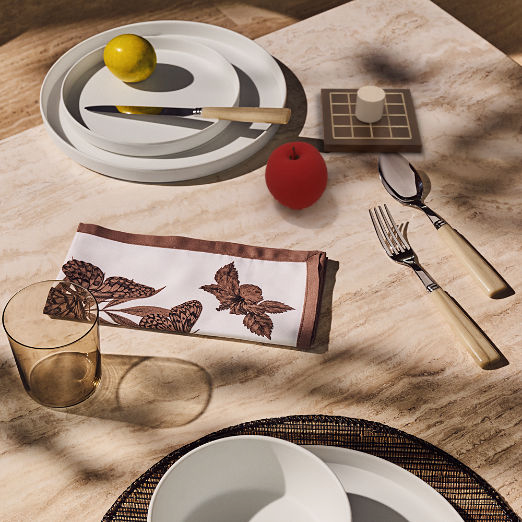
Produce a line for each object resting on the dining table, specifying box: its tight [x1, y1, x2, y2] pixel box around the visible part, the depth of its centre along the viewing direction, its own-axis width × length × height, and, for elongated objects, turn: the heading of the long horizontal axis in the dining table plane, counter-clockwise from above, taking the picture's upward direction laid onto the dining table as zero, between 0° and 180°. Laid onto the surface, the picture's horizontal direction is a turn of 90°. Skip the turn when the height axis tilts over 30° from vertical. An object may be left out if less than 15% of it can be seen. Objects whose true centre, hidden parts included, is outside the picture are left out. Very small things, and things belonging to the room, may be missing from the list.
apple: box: [264, 141, 329, 211], centre depth 96 cm, size 9×9×10 cm
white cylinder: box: [355, 85, 385, 123], centre depth 108 cm, size 4×4×4 cm
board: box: [320, 88, 423, 153], centre depth 110 cm, size 15×15×2 cm
